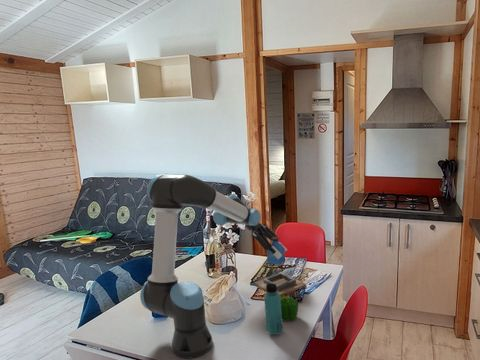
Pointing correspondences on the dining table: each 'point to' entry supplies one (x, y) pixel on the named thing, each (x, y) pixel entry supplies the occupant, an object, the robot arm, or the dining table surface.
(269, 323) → the beverage bottle
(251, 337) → the dining table surface
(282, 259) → the perfume bottle
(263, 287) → the walnut stand
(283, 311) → the bell pepper
